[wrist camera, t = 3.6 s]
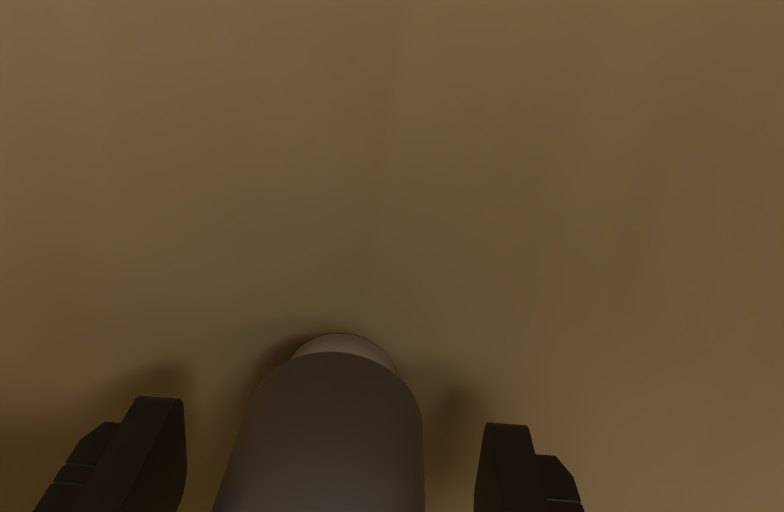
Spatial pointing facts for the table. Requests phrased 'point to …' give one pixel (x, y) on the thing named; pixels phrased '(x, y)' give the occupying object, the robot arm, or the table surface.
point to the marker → (328, 436)
